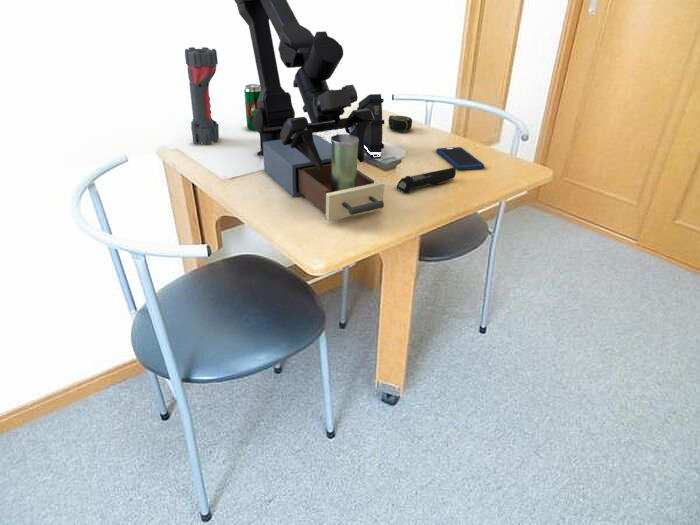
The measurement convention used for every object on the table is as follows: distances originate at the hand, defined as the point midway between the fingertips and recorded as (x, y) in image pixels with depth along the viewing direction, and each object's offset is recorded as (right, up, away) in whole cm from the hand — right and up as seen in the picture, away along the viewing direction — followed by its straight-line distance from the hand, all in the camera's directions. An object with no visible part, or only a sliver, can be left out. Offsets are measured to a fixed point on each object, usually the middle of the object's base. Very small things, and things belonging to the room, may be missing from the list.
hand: (342, 165), depth 95 cm
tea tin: (0, -6, +3) cm, 7 cm away
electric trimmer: (+19, -1, +16) cm, 25 cm away
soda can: (-26, +19, +45) cm, 56 cm away
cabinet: (-9, 0, +16) cm, 19 cm away
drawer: (0, -7, +4) cm, 8 cm away
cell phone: (+30, +7, +30) cm, 43 cm away
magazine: (+6, +11, +34) cm, 36 cm away
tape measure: (+16, +21, +50) cm, 57 cm away
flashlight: (-36, +14, +36) cm, 52 cm away
